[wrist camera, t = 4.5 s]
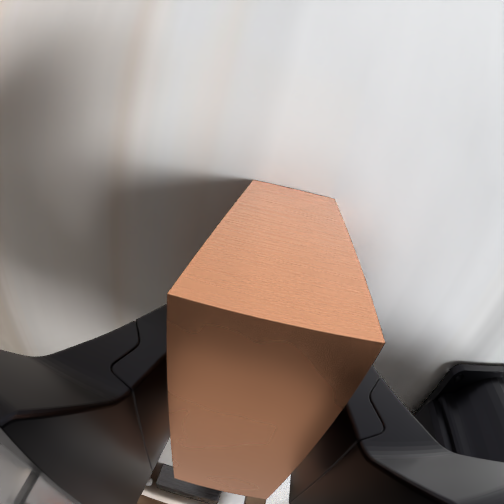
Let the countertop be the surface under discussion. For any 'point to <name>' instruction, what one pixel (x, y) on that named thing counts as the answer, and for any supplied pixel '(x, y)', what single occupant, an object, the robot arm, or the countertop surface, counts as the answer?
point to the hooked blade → (264, 343)
